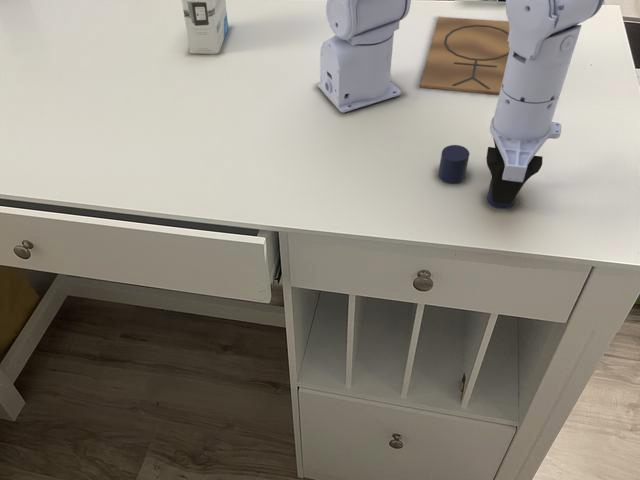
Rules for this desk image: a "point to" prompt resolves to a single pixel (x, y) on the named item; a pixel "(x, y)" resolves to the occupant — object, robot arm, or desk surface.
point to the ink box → (205, 25)
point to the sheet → (467, 55)
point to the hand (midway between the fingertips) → (503, 190)
